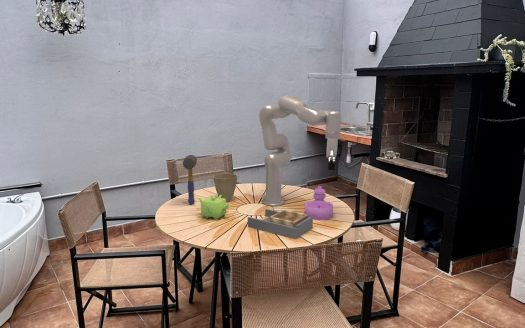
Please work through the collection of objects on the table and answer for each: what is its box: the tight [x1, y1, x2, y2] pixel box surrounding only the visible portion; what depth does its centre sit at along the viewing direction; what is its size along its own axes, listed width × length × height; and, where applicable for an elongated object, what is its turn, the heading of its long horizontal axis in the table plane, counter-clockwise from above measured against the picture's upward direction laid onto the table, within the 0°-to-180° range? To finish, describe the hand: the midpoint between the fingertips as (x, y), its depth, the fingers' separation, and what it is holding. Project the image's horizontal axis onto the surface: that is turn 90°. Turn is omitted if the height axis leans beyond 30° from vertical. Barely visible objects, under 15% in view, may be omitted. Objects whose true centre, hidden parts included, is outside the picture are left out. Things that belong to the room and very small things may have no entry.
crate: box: [269, 209, 308, 227], centre depth 187 cm, size 14×14×6 cm
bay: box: [247, 208, 314, 240], centre depth 190 cm, size 28×17×6 cm, turn 56°
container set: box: [304, 185, 334, 221], centre depth 213 cm, size 25×15×13 cm, turn 170°
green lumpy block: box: [197, 195, 231, 220], centre depth 206 cm, size 15×14×11 cm
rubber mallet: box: [182, 154, 198, 206], centre depth 226 cm, size 12×8×30 cm, turn 3°
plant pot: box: [212, 172, 238, 203], centre depth 235 cm, size 15×15×16 cm
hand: (331, 168), depth 197 cm, fingers open, 9 cm apart
